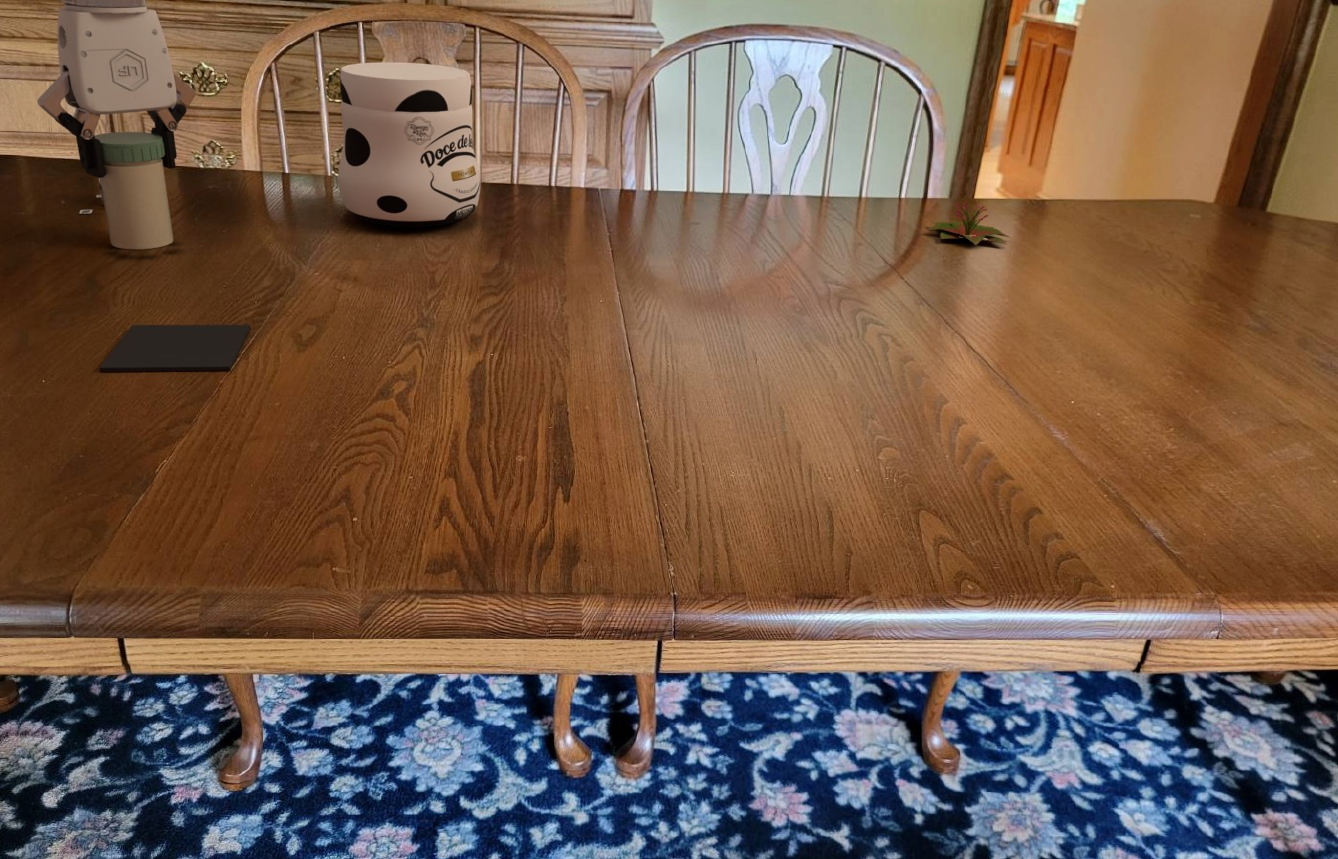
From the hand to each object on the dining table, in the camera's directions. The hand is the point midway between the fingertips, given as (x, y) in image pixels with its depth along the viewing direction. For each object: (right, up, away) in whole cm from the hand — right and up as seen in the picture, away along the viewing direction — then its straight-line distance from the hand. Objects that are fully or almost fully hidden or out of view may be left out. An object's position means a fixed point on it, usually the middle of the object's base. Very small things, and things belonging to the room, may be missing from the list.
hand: (131, 169), depth 115 cm
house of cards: (-11, 0, +17) cm, 20 cm away
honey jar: (-1, -7, +3) cm, 8 cm away
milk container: (+26, -2, +20) cm, 32 cm away
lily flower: (+99, -2, +29) cm, 104 cm away
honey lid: (0, +3, -1) cm, 3 cm away
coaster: (+16, -21, -24) cm, 36 cm away
